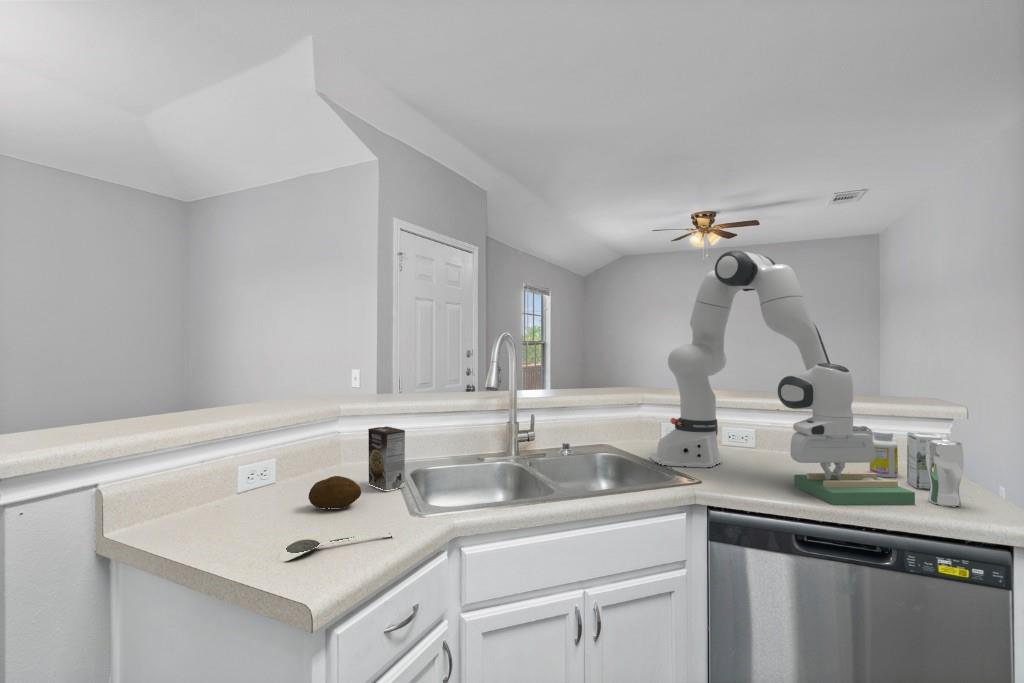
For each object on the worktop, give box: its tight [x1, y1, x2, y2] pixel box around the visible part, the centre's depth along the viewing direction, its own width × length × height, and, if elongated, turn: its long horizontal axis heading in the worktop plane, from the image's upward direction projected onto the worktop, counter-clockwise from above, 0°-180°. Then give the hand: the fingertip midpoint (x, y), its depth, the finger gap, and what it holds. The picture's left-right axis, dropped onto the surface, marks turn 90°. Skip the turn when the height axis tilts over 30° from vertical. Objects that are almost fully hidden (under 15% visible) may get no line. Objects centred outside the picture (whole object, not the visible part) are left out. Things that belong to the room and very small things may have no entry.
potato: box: [307, 475, 362, 510], centre depth 118 cm, size 8×12×8 cm, turn 102°
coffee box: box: [367, 426, 406, 490], centre depth 135 cm, size 9×6×16 cm
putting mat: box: [793, 472, 916, 506], centre depth 126 cm, size 20×16×4 cm
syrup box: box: [906, 431, 943, 491], centre depth 131 cm, size 6×6×14 cm
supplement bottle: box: [869, 430, 899, 479], centre depth 144 cm, size 7×7×13 cm
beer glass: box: [926, 439, 965, 508], centre depth 119 cm, size 7×7×15 cm
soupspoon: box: [285, 536, 355, 553], centre depth 95 cm, size 22×3×7 cm
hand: (832, 479), depth 126 cm, fingers closed
